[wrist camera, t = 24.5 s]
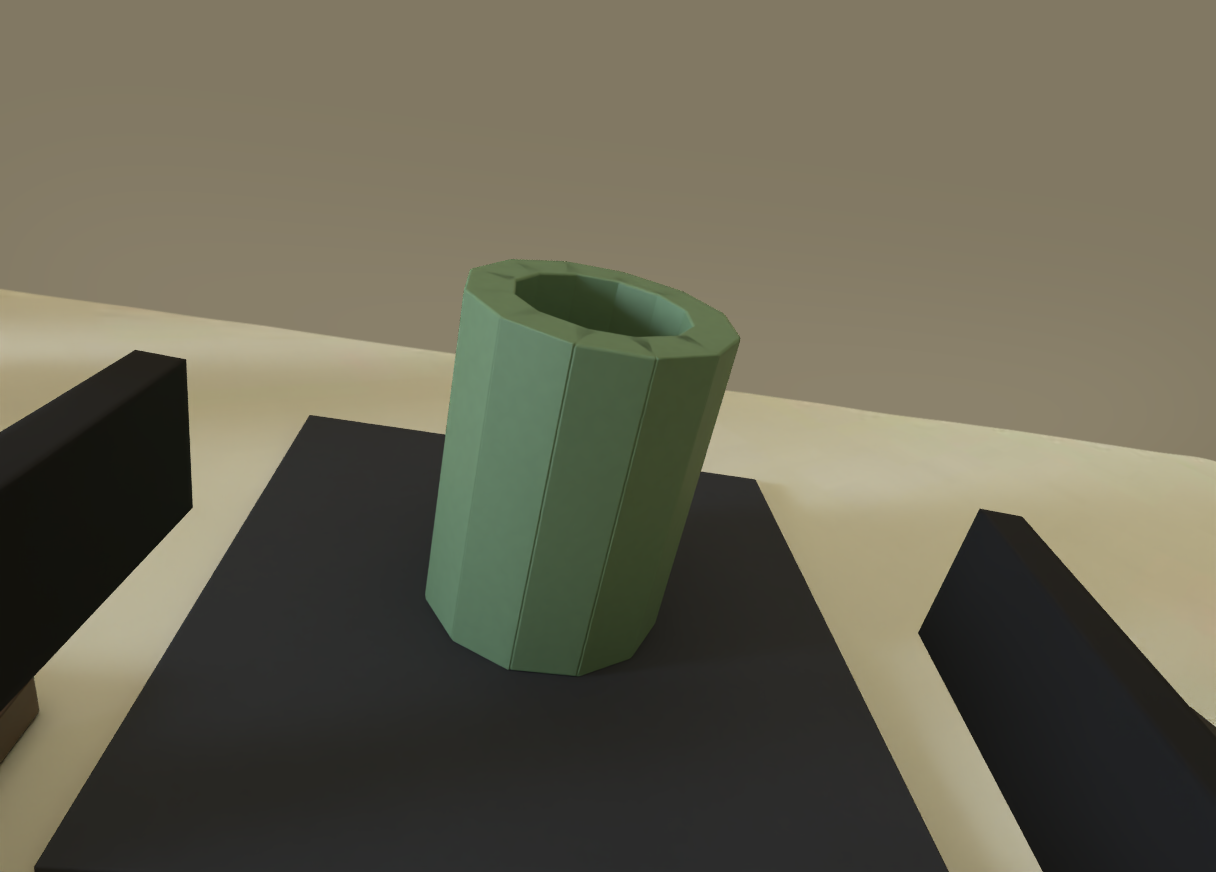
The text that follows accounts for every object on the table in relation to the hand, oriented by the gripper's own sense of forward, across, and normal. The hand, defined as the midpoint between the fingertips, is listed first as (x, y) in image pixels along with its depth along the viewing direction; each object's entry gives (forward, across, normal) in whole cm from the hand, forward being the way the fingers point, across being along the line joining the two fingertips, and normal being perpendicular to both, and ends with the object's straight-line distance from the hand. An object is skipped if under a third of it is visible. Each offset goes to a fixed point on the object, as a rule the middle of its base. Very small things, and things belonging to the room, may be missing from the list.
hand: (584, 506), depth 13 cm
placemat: (+9, 0, -10) cm, 13 cm away
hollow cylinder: (+9, 0, -9) cm, 13 cm away
